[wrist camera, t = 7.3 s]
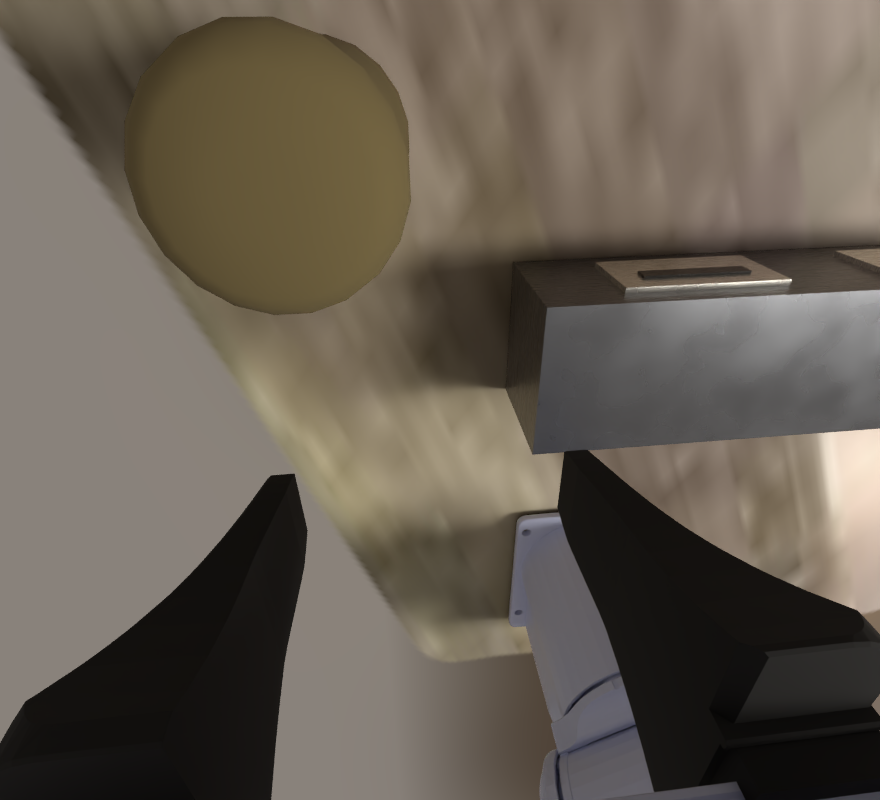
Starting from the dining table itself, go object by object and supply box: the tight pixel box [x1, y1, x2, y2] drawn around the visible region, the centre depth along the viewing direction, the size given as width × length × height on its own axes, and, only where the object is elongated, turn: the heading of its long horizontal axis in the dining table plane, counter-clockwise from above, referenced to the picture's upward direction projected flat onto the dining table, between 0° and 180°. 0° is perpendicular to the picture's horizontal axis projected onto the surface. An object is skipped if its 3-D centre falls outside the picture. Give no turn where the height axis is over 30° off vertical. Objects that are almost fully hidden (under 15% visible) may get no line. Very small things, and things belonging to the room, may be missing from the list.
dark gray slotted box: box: [506, 245, 880, 454], centre depth 21 cm, size 6×22×5 cm, turn 91°
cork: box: [125, 17, 411, 315], centre depth 13 cm, size 6×6×11 cm
